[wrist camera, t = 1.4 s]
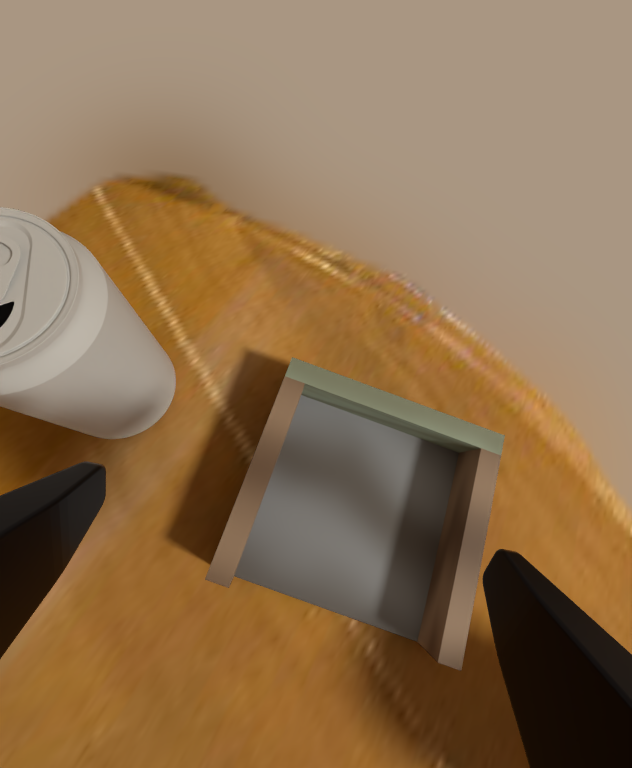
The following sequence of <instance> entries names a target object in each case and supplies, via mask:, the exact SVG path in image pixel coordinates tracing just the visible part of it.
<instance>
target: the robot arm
mask: <svg viewBox="0 0 632 768" xmlns="http://www.w3.org/2000/svg"><path fill="white" fill-rule="evenodd" d="M105 495H106V470H105V467H104V466H103V465H101V464H96V463H91V462H82V463H79V464H77V465H74V466H72V467H69V468H67V469H64V470H62V471H59V472H57V473H55V474H52V475H50V476H47V477H45V478H42V479H40V480H37V481H35V482H33V483H30V484H28V485H25V486H23V487H20V488H18V489H15V490H13V491H11V492H8V493H6V494H3V495H1V496H0V659H1V657H2V656H3V654H4V653H5V652H6V650H7V649H8V648H9V646H10V645H11V643H12V642H13V641H14V639H15V638H16V636H17V635H18V634H19V632H20V631H21V630H22V628H23V627H24V625H25V624H26V623H27V621H28V620H29V619H30V617H31V616H32V614H33V613H34V612H35V610H36V609H37V608H38V606H39V605H40V603H41V602H42V601H43V599H44V598H45V597H46V595H47V594H48V592H49V591H50V590H51V588H52V587H53V585H54V584H55V583H56V581H57V580H58V578H59V577H60V575H61V574H62V573H63V571H64V569H65V568H66V566H67V565H68V563H69V561H70V560H71V558H72V556H73V555H74V553H75V551H76V549H77V548H78V546H79V544H80V543H81V541H82V539H83V537H84V536H85V534H86V532H87V531H88V529H89V527H90V525H91V524H92V522H93V520H94V519H95V517H96V515H97V513H98V512H99V510H100V508H101V507H102V505H103V502H104V500H105ZM483 587H484V592H485V597H486V602H487V607H488V612H489V617H490V622H491V627H492V632H493V638H494V643H495V647H496V651H497V656H498V659H499V663H500V667H501V670H502V674H503V677H504V681H505V684H506V687H507V691H508V694H509V698H510V701H511V704H512V708H513V711H514V715H515V718H516V721H517V725H518V728H519V732H520V735H521V738H522V742H523V745H524V749H525V752H526V756H527V759H528V762H529V766H530V768H632V654H630V653H629V652H628V651H627V650H626V649H625V648H624V647H623V646H622V645H620V644H619V643H618V642H617V641H616V640H615V639H614V638H613V637H612V636H610V635H609V634H608V633H607V632H606V631H605V630H604V629H603V628H602V627H600V626H599V625H598V624H597V623H596V622H595V621H594V620H593V619H592V618H590V617H589V616H588V615H587V614H586V613H585V612H584V611H583V610H582V609H580V608H579V607H578V606H577V605H576V604H575V603H574V602H573V601H572V600H570V599H569V598H568V597H567V596H566V595H565V594H564V593H563V592H562V591H560V590H559V589H558V588H557V587H556V586H555V585H554V584H553V583H552V582H550V581H549V580H548V579H547V578H546V577H545V576H544V575H543V574H542V573H540V572H539V571H538V570H537V569H536V568H535V567H534V566H533V565H532V564H530V563H529V562H528V561H527V560H526V559H525V558H524V557H523V556H521V555H520V554H519V553H517V552H514V551H510V550H505V549H499V550H498V551H496V553H495V554H494V556H493V558H492V559H491V561H490V563H489V565H488V566H487V568H486V570H485V572H484V574H483Z"/></svg>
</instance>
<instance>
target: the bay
mask: <svg viewBox="0 0 632 768" xmlns="http://www.w3.org/2000/svg"><path fill="white" fill-rule="evenodd" d="M504 437H505V435H502V434H499V433H496V432H494V431H491V430H488V429H486V428H483V427H480V426H477V425H475V424H472V423H469V422H467V421H464V420H461V419H458V418H456V417H453V416H450V415H448V414H445V413H442V412H439V411H437V410H434V409H431V408H429V407H426V406H423V405H420V404H418V403H415V402H412V401H410V400H407V399H404V398H401V397H399V396H396V395H393V394H391V393H388V392H385V391H382V390H380V389H377V388H374V387H372V386H369V385H366V384H363V383H361V382H358V381H355V380H353V379H350V378H347V377H344V376H342V375H339V374H336V373H333V372H331V371H328V370H325V369H323V368H320V367H317V366H314V365H312V364H309V363H306V362H304V361H301V360H298V359H295V358H293V357H292V359H291V362H290V364H289V367H288V369H287V372H286V375H285V377H284V380H283V382H282V385H281V387H280V390H279V392H278V395H277V397H276V400H275V403H274V405H273V408H272V410H271V413H270V415H269V418H268V420H267V423H266V425H265V428H264V431H263V433H262V436H261V438H260V441H259V443H258V446H257V448H256V451H255V453H254V456H253V459H252V461H251V464H250V466H249V469H248V471H247V474H246V476H245V479H244V481H243V484H242V487H241V489H240V492H239V494H238V497H237V499H236V502H235V504H234V507H233V509H232V512H231V515H230V517H229V520H228V522H227V525H226V527H225V530H224V532H223V535H222V537H221V540H220V543H219V545H218V548H217V550H216V553H215V555H214V558H213V560H212V563H211V565H210V568H209V571H208V573H207V576H206V578H205V580H208V581H211V582H214V583H217V584H219V585H222V586H225V587H228V588H229V587H230V584H231V582H232V580H233V577H234V576H235V577H238V578H241V579H244V580H246V581H249V582H252V583H255V584H258V585H260V586H263V587H266V588H269V589H272V590H274V591H277V592H280V593H283V594H286V595H288V596H291V597H294V598H297V599H300V600H302V601H305V602H308V603H311V604H313V605H316V606H319V607H322V608H325V609H327V610H330V611H333V612H336V613H339V614H341V615H344V616H347V617H350V618H353V619H355V620H358V621H361V622H364V623H367V624H369V625H372V626H375V627H378V628H381V629H383V630H386V631H389V632H392V633H395V634H397V635H400V636H403V637H406V638H408V639H411V640H414V641H417V642H418V643H419V644H420V645H421V646H422V647H423V648H424V649H425V650H426V651H427V652H428V653H429V654H430V655H431V656H432V657H433V658H434V659H435V660H436V661H437V662H438V663H440V664H443V665H446V666H449V667H452V668H454V669H457V670H460V671H461V669H462V664H463V659H464V653H465V648H466V642H467V637H468V632H469V626H470V621H471V615H472V610H473V604H474V599H475V594H476V588H477V583H478V577H479V572H480V567H481V561H482V556H483V550H484V545H485V540H486V534H487V529H488V523H489V518H490V513H491V507H492V502H493V496H494V491H495V486H496V480H497V475H498V469H499V464H500V458H501V453H502V448H503V442H504Z"/></svg>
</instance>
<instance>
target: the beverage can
mask: <svg viewBox="0 0 632 768" xmlns="http://www.w3.org/2000/svg"><path fill="white" fill-rule="evenodd" d="M175 387H176V376H175V371H174V367H173V364H172V362H171V360H170V358H169V357H168V355H167V354H166V352H165V351H164V350H163V348H162V347H161V346H160V344H159V343H158V342H157V340H156V339H155V338H154V336H153V335H152V334H151V332H150V331H149V330H148V328H147V327H146V325H145V324H144V323H143V321H142V320H141V319H140V317H139V316H138V315H137V313H136V312H135V311H134V309H133V308H132V307H131V305H130V304H129V303H128V301H127V300H126V299H125V297H124V296H123V295H122V293H121V292H120V291H119V289H118V288H117V286H116V285H115V284H114V282H113V281H112V280H111V278H110V277H109V276H108V274H107V273H106V272H105V270H104V269H103V268H102V266H101V265H100V264H99V262H98V261H97V260H96V258H95V257H94V256H93V255H92V253H91V252H90V251H89V250H88V249H87V248H86V247H85V246H83V245H82V244H81V243H80V242H78V241H77V240H75V239H74V238H72V237H71V236H69V235H67V234H65V233H63V232H60V231H58V230H57V229H56V228H55V227H54V226H52V225H51V224H50V223H48V222H47V221H45V220H43V219H41V218H39V217H37V216H35V215H33V214H30V213H27V212H24V211H20V210H16V209H10V208H4V207H0V406H1V407H4V408H7V409H10V410H13V411H16V412H20V413H23V414H26V415H29V416H32V417H35V418H38V419H41V420H44V421H48V422H51V423H54V424H57V425H60V426H63V427H66V428H69V429H72V430H75V431H79V432H82V433H85V434H88V435H91V436H94V437H98V438H104V439H121V438H126V437H130V436H133V435H136V434H138V433H141V432H143V431H144V430H146V429H148V428H149V427H151V426H152V425H153V424H155V423H156V422H157V421H158V420H159V419H160V418H161V417H162V416H163V415H164V413H165V412H166V411H167V409H168V407H169V406H170V404H171V401H172V399H173V396H174V393H175Z"/></svg>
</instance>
